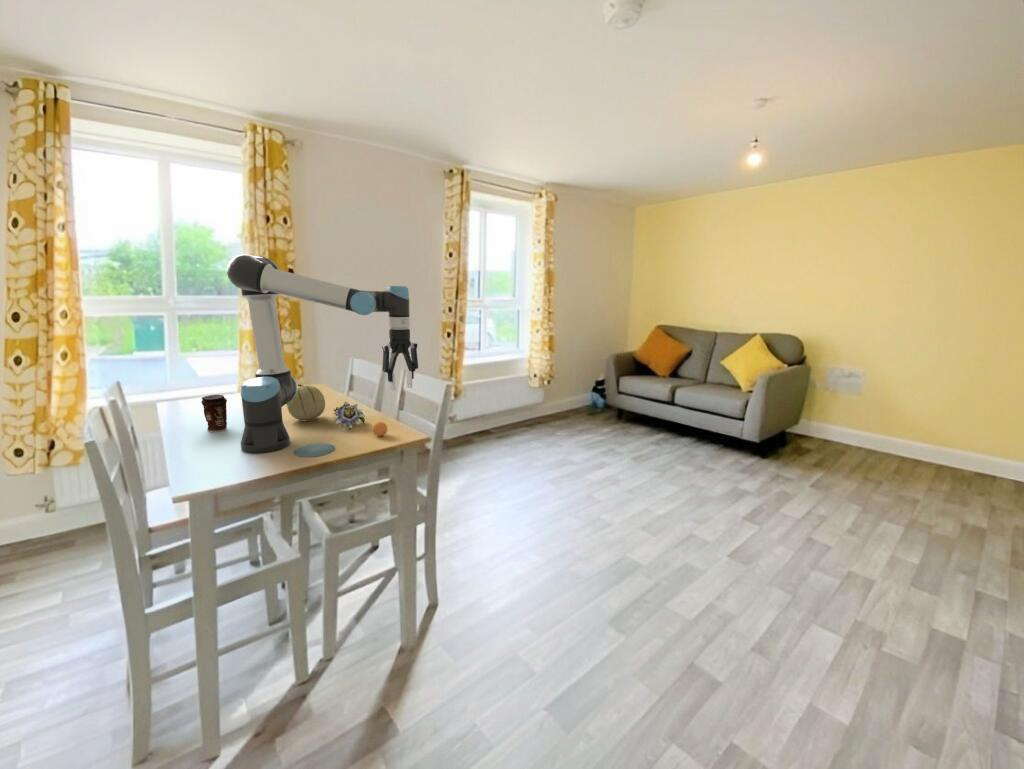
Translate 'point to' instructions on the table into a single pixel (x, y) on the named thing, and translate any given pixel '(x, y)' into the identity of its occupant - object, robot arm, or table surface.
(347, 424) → the passion flower
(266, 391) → the robot arm
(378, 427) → the ball
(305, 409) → the cantaloupe
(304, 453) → the mark
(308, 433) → the table surface
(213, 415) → the coffee cup
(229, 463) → the table surface
